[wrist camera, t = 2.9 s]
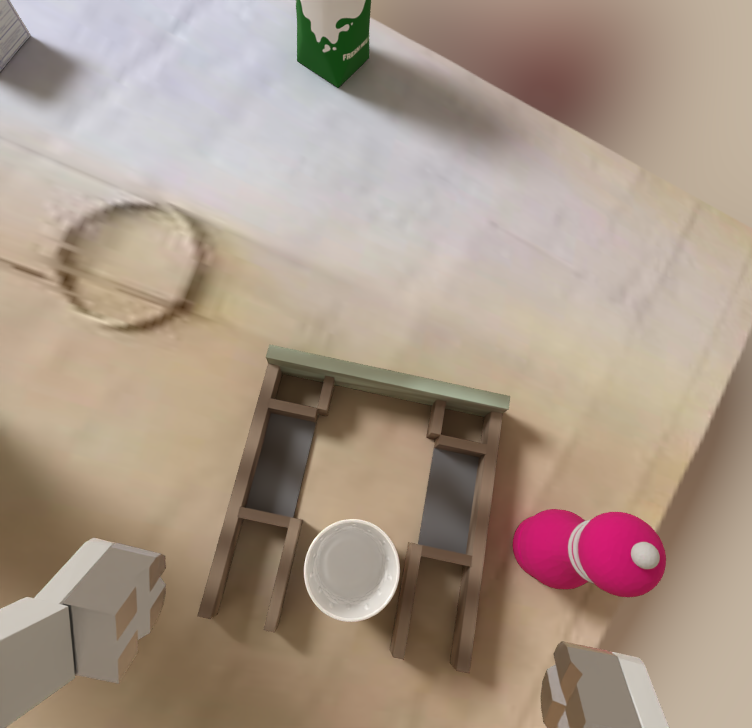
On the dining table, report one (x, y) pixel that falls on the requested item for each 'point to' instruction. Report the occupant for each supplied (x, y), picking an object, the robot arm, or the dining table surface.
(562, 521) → the pepper mill
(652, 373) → the dining table surface
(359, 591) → the white cup
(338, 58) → the milk carton
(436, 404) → the organizer tray
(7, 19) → the medicine box
